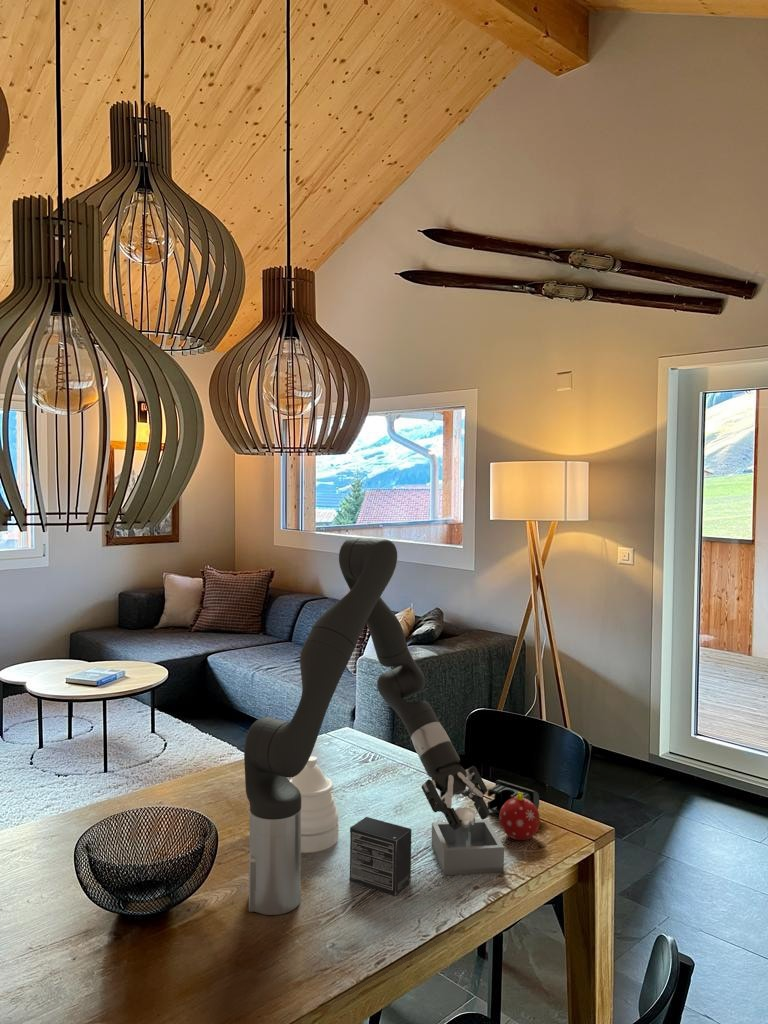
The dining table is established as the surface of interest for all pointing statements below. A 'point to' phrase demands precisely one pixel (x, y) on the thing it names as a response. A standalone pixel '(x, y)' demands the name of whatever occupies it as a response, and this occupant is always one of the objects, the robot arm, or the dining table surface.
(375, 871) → the small box
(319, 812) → the honey pot
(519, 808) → the christmas ornament
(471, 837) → the milkshake
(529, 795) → the end cap
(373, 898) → the dining table surface
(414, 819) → the dining table surface
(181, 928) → the dining table surface
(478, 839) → the bin
